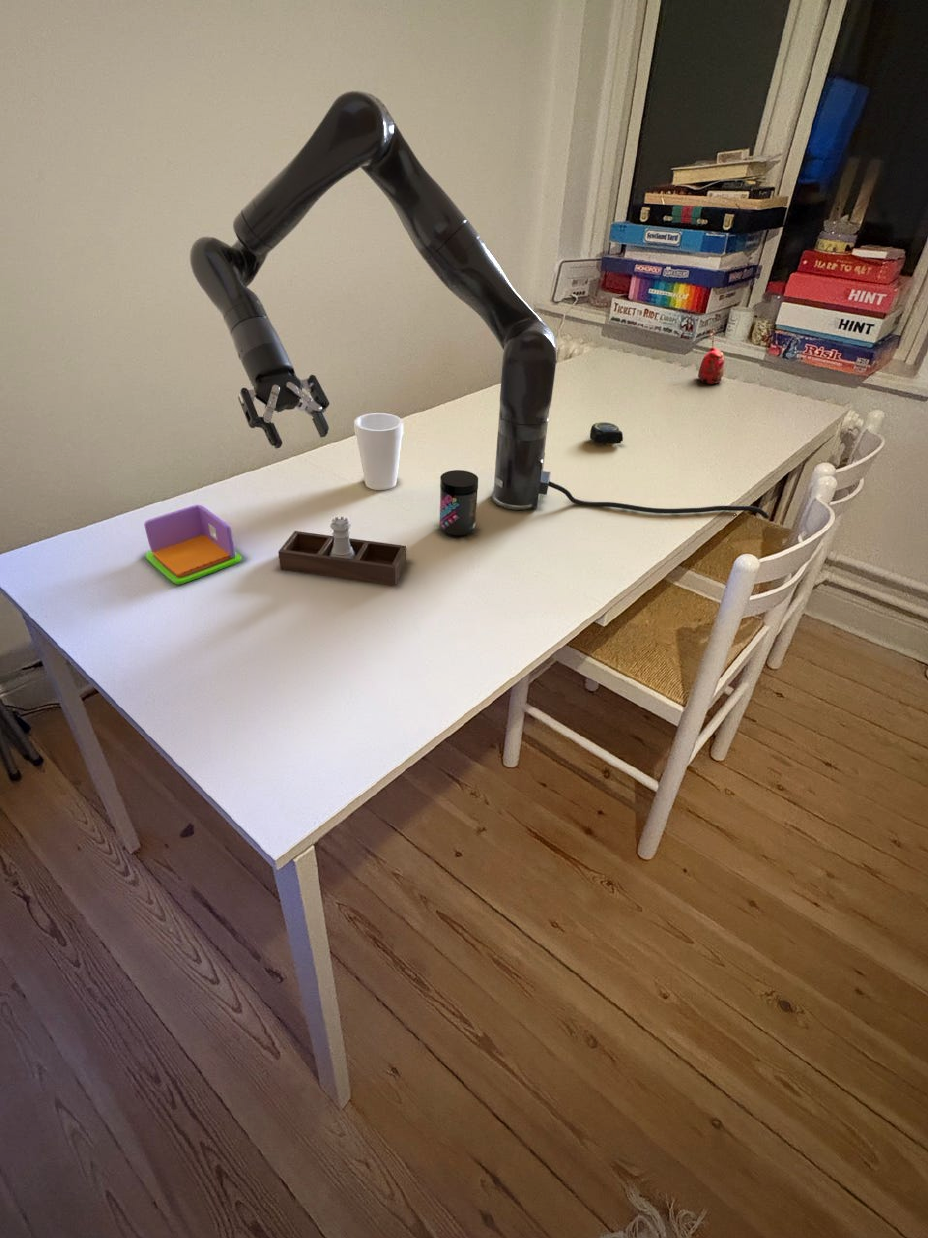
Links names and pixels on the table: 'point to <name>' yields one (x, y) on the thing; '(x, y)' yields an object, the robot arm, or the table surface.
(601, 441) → the tape measure
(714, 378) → the red clay folk toy
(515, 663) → the table surface
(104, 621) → the table surface
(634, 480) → the table surface
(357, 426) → the foam cup
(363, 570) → the compartment tray
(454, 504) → the supplement container
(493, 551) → the table surface
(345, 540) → the rook chess piece
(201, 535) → the toy room diorama
